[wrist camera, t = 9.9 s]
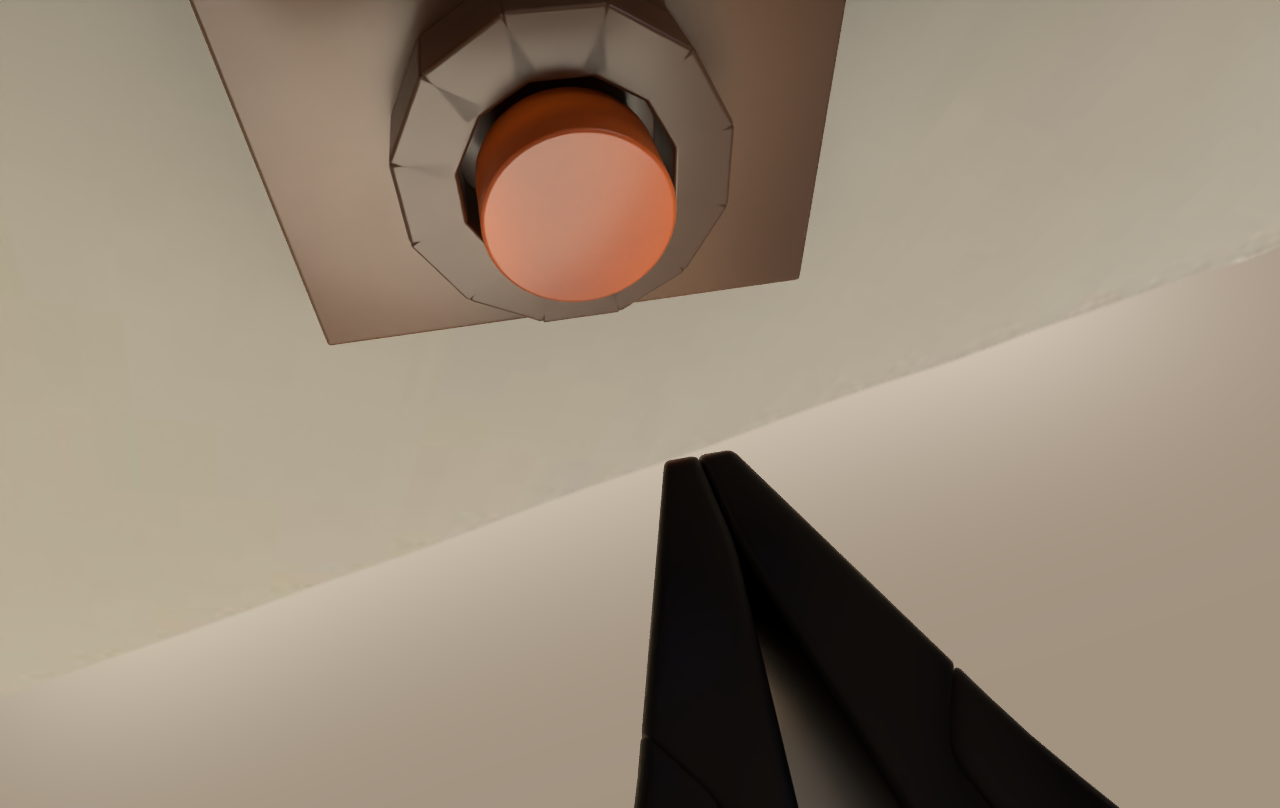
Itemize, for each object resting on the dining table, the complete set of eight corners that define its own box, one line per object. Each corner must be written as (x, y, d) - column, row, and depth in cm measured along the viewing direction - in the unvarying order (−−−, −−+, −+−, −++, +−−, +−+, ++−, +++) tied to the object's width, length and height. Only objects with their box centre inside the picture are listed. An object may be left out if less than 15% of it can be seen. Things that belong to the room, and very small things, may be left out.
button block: (833, -150, 15) (916, -108, 12) (778, 244, 21) (825, 322, 19) (175, -111, 13) (123, -53, 11) (332, 304, 20) (321, 398, 17)
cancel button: (657, 75, 14) (680, 117, 13) (656, 242, 17) (675, 290, 15) (459, 95, 13) (463, 141, 12) (490, 264, 16) (496, 315, 15)
